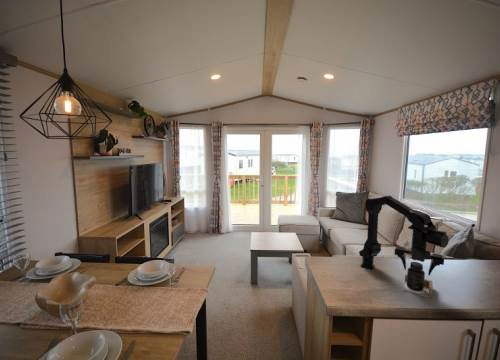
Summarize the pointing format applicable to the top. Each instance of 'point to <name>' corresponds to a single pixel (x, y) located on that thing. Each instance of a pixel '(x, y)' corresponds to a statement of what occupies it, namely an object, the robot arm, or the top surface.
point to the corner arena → (426, 292)
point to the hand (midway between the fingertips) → (416, 272)
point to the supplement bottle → (415, 277)
